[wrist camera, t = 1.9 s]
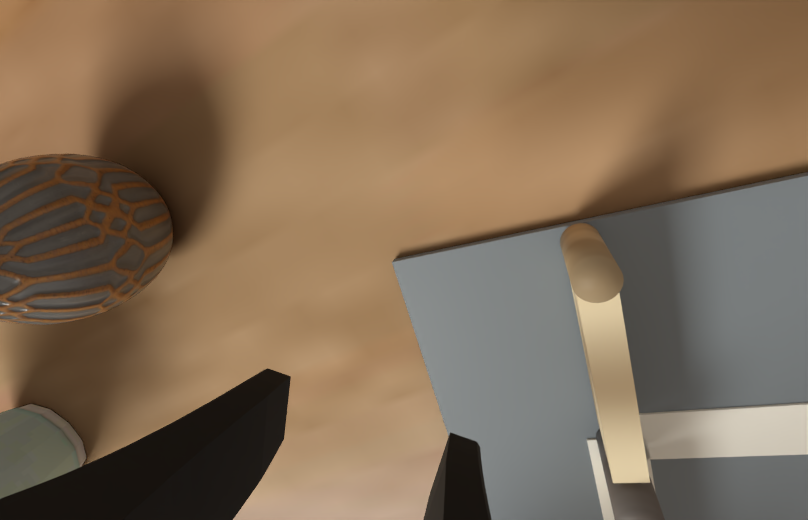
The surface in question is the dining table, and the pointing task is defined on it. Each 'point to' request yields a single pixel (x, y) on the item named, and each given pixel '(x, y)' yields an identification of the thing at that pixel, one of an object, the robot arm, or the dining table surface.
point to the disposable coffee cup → (35, 448)
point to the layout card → (632, 356)
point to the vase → (76, 237)
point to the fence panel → (606, 350)
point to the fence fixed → (629, 494)
